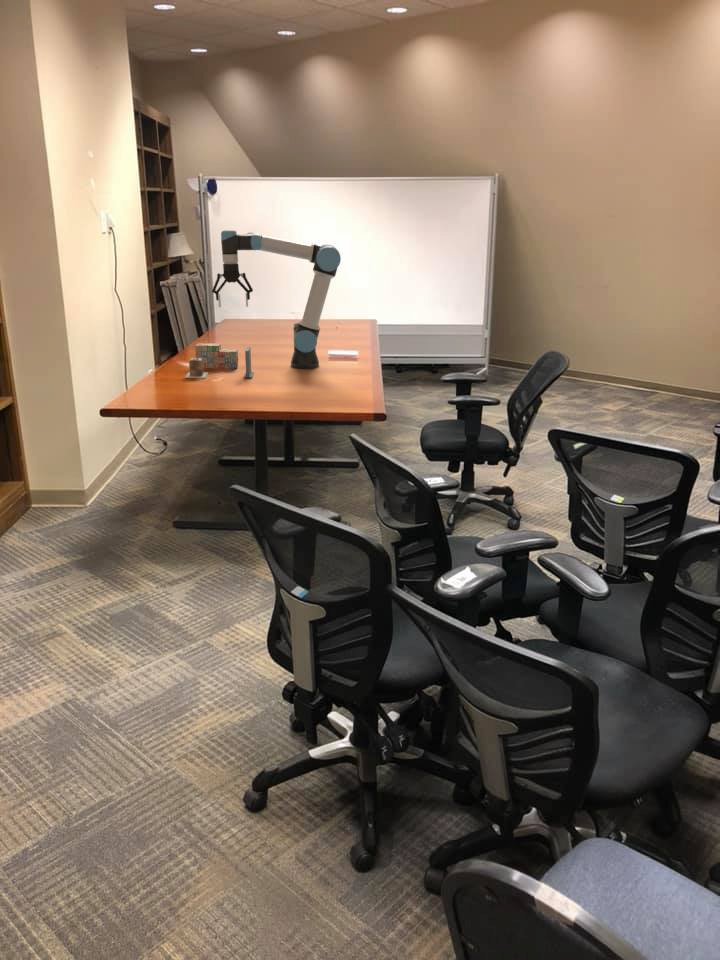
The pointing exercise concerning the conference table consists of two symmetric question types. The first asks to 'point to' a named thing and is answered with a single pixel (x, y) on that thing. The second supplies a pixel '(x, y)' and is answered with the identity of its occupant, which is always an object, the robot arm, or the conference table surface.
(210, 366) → the stack of blocks
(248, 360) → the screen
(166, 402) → the conference table surface
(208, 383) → the conference table surface
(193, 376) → the pad
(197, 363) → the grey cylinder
